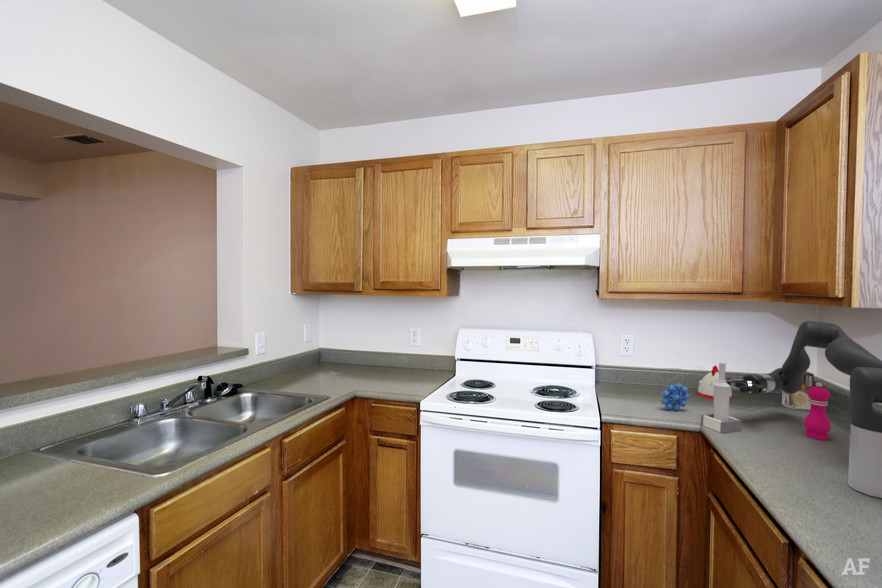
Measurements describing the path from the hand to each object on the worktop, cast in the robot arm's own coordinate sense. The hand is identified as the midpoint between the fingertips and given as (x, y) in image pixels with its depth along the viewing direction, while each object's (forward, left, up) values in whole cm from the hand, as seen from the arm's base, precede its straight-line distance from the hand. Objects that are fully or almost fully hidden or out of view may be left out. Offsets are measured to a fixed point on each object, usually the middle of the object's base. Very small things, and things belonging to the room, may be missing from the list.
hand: (729, 387), depth 157 cm
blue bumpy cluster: (+22, +3, -16) cm, 27 cm away
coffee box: (+9, -53, -16) cm, 56 cm away
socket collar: (0, +4, -16) cm, 16 cm away
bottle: (0, +4, -16) cm, 16 cm away
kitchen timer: (+33, -34, -16) cm, 50 cm away
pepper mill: (-17, -21, -16) cm, 31 cm away
